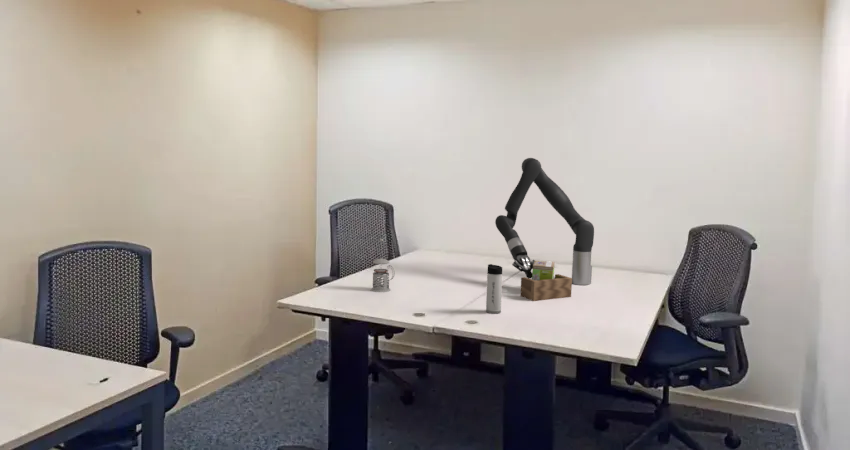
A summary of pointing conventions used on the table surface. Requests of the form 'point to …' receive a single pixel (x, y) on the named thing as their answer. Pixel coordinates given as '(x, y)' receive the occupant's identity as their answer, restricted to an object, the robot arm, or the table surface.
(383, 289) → the french press
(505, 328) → the table surface
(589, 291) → the table surface
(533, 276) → the tea box
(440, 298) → the table surface
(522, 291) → the display nook
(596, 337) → the table surface
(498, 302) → the travel mug
